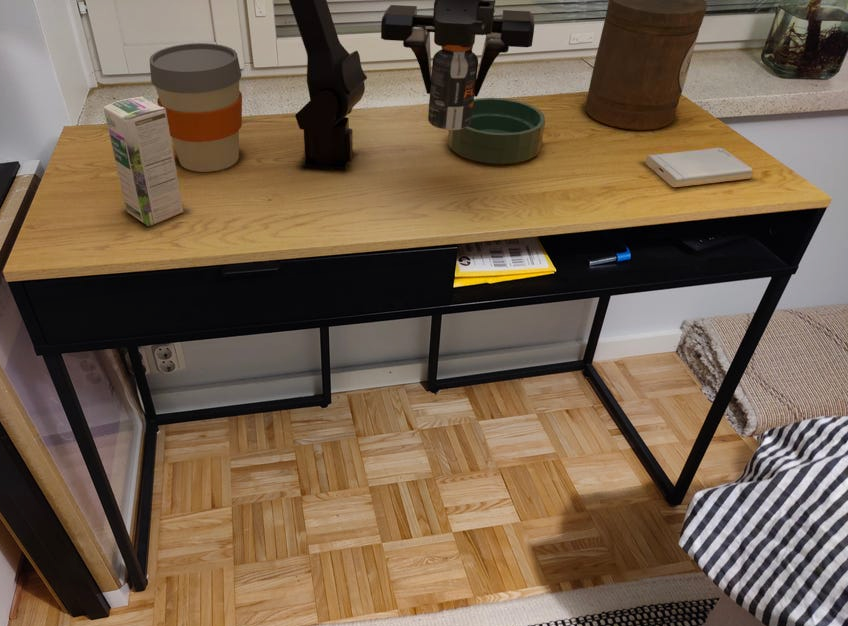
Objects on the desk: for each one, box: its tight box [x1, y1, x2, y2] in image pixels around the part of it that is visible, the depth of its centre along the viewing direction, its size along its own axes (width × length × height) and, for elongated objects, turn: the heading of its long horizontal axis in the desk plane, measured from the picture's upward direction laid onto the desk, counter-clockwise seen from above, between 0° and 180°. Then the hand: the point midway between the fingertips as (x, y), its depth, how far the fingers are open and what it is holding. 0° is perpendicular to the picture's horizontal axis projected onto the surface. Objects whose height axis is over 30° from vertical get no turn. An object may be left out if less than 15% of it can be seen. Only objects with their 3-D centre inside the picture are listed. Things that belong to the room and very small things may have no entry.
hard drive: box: [644, 147, 754, 188], centre depth 105 cm, size 2×8×12 cm
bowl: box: [447, 97, 546, 165], centre depth 110 cm, size 14×14×5 cm
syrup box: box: [102, 96, 184, 227], centre depth 91 cm, size 6×6×14 cm
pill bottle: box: [427, 45, 479, 131], centre depth 93 cm, size 6×6×11 cm
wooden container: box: [584, 0, 708, 131], centre depth 115 cm, size 15×15×22 cm
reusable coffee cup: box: [149, 42, 243, 173], centre depth 103 cm, size 13×13×15 cm
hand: (452, 94), depth 94 cm, fingers closed on pill bottle, 6 cm apart
